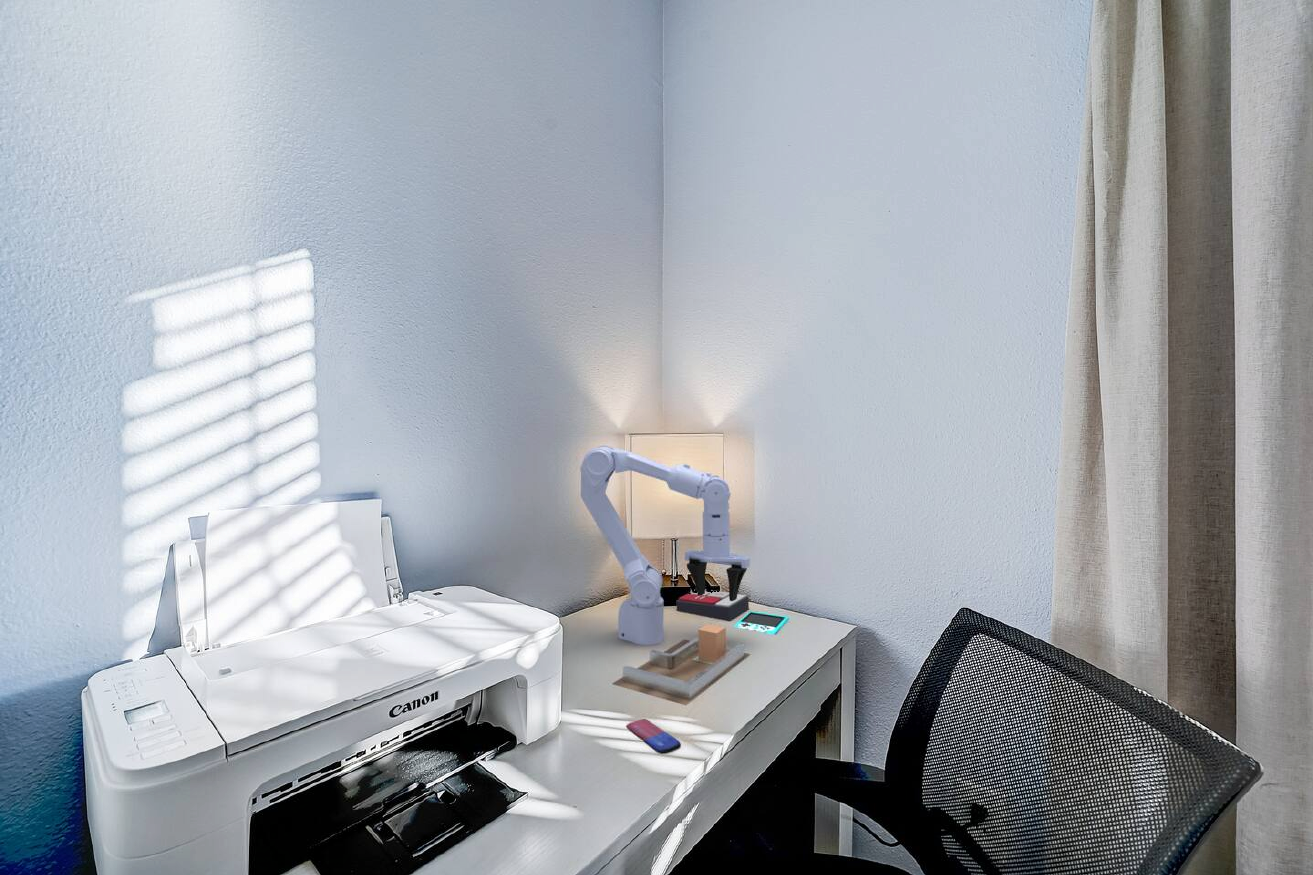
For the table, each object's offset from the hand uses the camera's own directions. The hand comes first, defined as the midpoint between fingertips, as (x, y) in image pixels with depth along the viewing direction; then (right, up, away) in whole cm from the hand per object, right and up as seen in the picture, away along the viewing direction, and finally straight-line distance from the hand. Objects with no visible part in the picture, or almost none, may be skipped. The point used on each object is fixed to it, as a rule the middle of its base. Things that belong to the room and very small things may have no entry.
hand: (717, 597), depth 136 cm
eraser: (-14, -13, -39) cm, 43 cm away
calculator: (+1, -10, +24) cm, 26 cm away
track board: (-7, -11, -14) cm, 19 cm away
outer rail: (-7, -10, -14) cm, 19 cm away
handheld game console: (+11, -11, +12) cm, 20 cm away
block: (-2, -10, -9) cm, 14 cm away
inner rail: (-9, -10, -8) cm, 15 cm away
